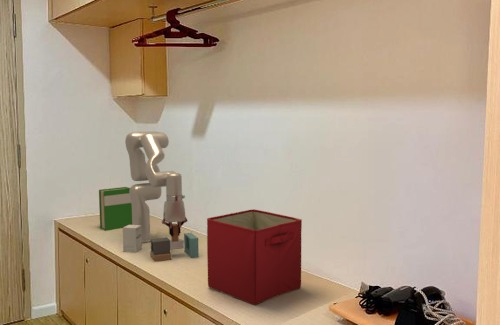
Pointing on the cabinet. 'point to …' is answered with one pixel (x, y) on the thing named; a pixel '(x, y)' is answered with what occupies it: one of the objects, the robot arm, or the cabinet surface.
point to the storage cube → (254, 254)
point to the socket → (191, 245)
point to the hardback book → (115, 208)
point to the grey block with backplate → (160, 249)
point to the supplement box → (132, 238)
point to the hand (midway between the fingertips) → (174, 235)
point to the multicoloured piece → (176, 239)
